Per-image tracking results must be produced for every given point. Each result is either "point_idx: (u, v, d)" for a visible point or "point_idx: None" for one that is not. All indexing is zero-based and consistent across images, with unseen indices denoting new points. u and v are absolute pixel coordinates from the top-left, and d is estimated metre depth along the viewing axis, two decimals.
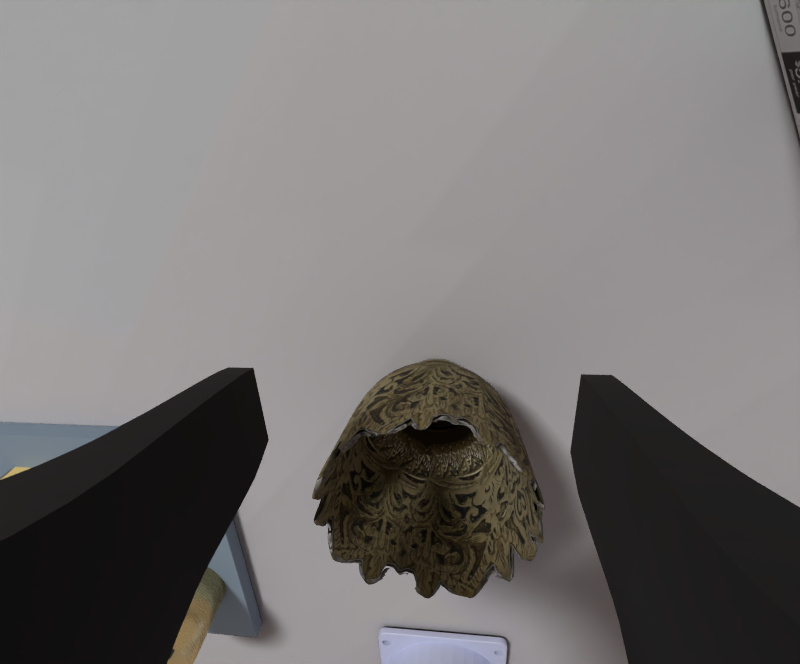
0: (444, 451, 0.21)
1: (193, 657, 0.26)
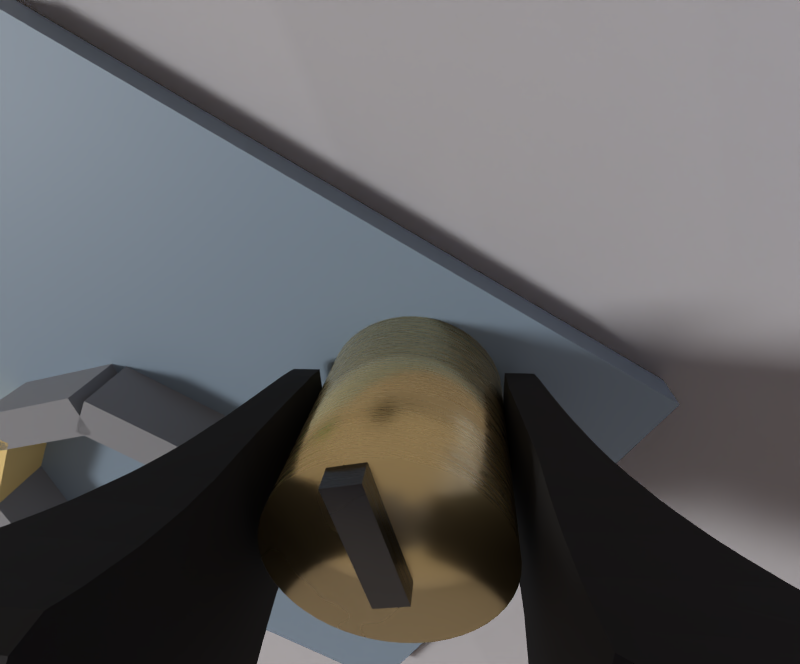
0: None
1: (472, 465, 0.07)
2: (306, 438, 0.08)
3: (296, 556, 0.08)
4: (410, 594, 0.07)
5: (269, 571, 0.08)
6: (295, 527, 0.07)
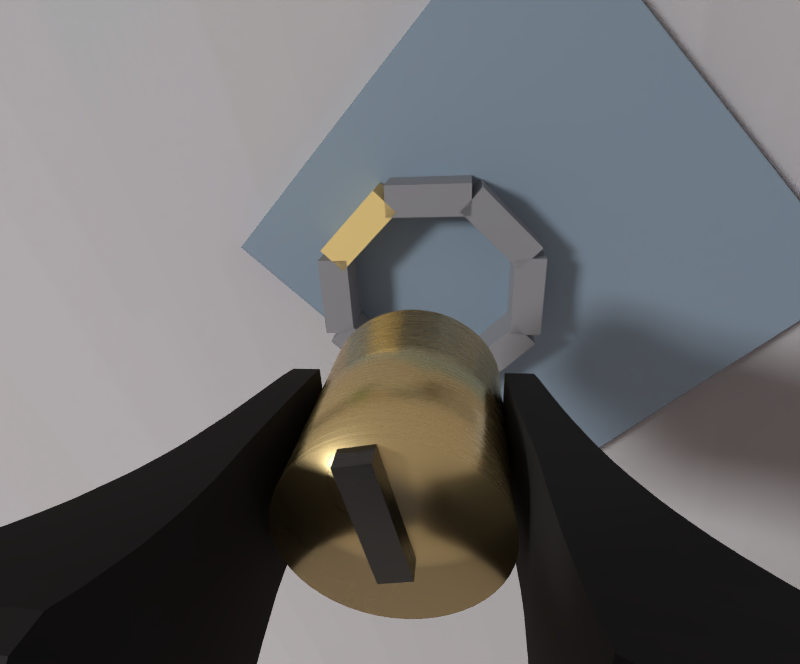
0: None
1: (474, 448, 0.07)
2: (316, 423, 0.08)
3: (305, 534, 0.08)
4: (413, 569, 0.08)
5: (279, 549, 0.08)
6: (305, 506, 0.08)
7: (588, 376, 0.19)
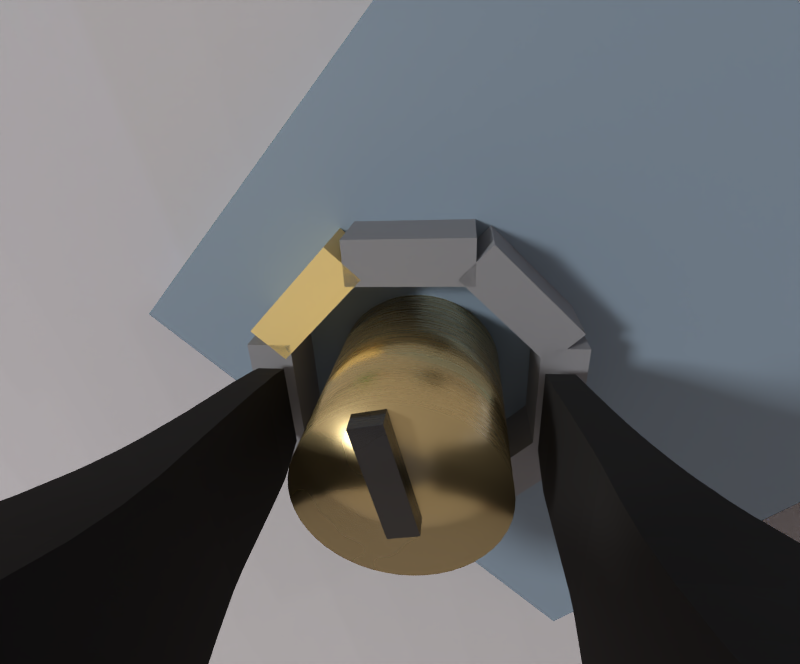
0: None
1: (475, 414, 0.08)
2: (330, 394, 0.09)
3: (321, 495, 0.09)
4: (419, 526, 0.08)
5: (296, 510, 0.09)
6: (321, 468, 0.08)
7: None
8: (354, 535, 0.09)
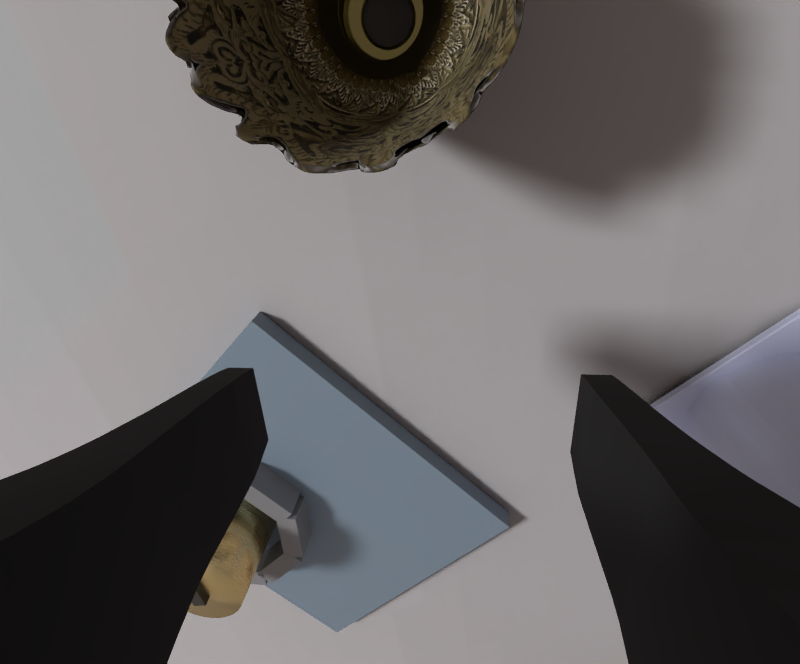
0: (437, 52, 0.14)
1: (224, 561, 0.22)
2: None
3: None
4: (206, 601, 0.22)
5: None
6: None
7: (355, 568, 0.27)
8: None
